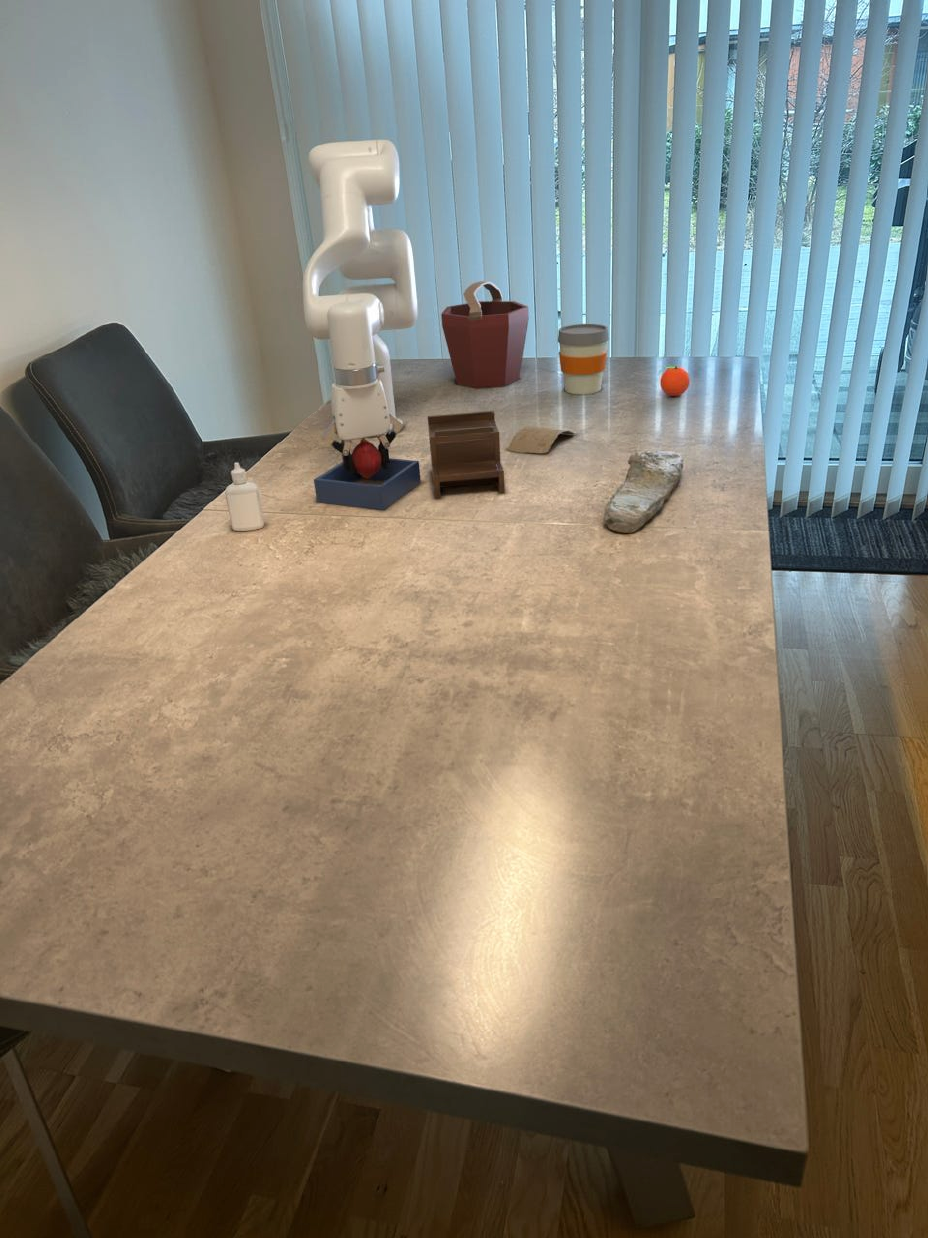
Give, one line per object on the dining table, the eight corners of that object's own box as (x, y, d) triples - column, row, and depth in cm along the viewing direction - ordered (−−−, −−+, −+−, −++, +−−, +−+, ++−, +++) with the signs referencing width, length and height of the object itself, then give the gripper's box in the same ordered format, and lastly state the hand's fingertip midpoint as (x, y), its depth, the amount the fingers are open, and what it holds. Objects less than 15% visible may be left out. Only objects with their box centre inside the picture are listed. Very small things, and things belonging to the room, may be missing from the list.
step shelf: (504, 493, 166) (502, 433, 160) (435, 499, 165) (430, 439, 160) (496, 466, 179) (493, 410, 173) (432, 472, 178) (427, 415, 173)
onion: (389, 474, 171) (384, 433, 167) (374, 484, 166) (369, 443, 162) (363, 471, 173) (358, 431, 169) (347, 481, 169) (342, 441, 165)
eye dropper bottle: (255, 533, 156) (242, 468, 150) (228, 530, 158) (215, 466, 152) (268, 524, 159) (257, 460, 154) (242, 521, 161) (230, 457, 156)
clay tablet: (548, 455, 183) (547, 442, 182) (505, 449, 188) (504, 437, 186) (577, 435, 193) (577, 423, 192) (536, 430, 198) (536, 418, 197)
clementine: (650, 397, 216) (652, 367, 212) (662, 390, 221) (664, 361, 217) (682, 400, 212) (683, 370, 208) (693, 393, 217) (695, 364, 213)
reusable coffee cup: (553, 385, 231) (553, 325, 224) (601, 381, 232) (602, 321, 225) (563, 397, 220) (563, 335, 213) (613, 393, 221) (614, 331, 214)
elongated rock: (588, 537, 149) (647, 547, 145) (589, 509, 146) (649, 518, 142) (640, 459, 175) (691, 466, 172) (642, 434, 172) (694, 440, 169)
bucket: (496, 395, 226) (491, 292, 214) (425, 387, 237) (417, 289, 225) (542, 372, 244) (540, 275, 232) (475, 366, 255) (469, 273, 243)
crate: (317, 502, 168) (313, 479, 165) (356, 476, 179) (354, 454, 177) (384, 510, 162) (381, 486, 160) (421, 482, 173) (419, 460, 171)
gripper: (395, 363, 165) (404, 456, 174) (304, 377, 161) (318, 471, 170) (407, 372, 159) (416, 468, 168) (313, 387, 154) (327, 484, 164)
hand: (367, 469), depth 169 cm, fingers closed on onion, 5 cm apart
